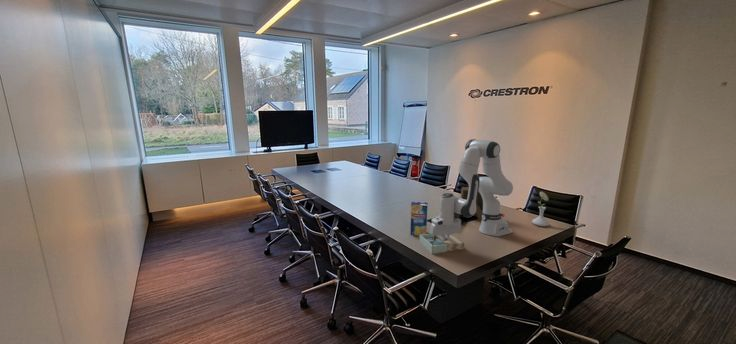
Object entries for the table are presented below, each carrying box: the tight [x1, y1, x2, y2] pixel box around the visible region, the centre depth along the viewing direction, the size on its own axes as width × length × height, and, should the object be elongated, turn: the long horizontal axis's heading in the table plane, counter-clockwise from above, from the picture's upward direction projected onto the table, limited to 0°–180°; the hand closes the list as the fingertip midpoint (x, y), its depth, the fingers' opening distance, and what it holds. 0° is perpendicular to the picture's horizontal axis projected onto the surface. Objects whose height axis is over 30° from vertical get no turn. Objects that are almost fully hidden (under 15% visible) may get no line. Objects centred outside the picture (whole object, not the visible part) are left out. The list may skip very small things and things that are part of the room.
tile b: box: [435, 239, 443, 245], centre depth 188 cm, size 5×5×2 cm
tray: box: [418, 233, 448, 255], centre depth 192 cm, size 10×18×5 cm, turn 15°
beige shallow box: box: [434, 234, 465, 252], centre depth 195 cm, size 12×16×4 cm
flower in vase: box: [531, 191, 550, 227], centre depth 226 cm, size 13×11×25 cm
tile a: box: [425, 238, 434, 245], centre depth 195 cm, size 5×5×2 cm
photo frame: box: [460, 186, 483, 222], centre depth 240 cm, size 15×22×25 cm
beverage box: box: [410, 201, 429, 236], centre depth 211 cm, size 7×11×22 cm, turn 78°
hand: (445, 240), depth 189 cm, fingers closed
